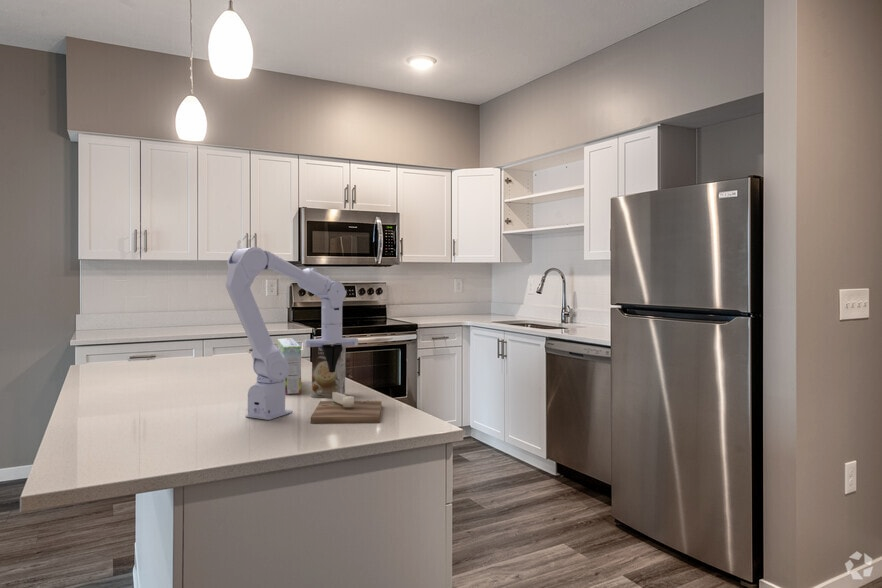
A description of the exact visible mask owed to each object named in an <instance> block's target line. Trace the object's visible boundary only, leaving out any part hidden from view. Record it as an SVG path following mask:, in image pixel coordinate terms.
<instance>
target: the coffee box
mask: <svg viewBox="0 0 882 588" xmlns="http://www.w3.org/2000/svg"><path fill="white" fill-rule="evenodd" d="M326 344H339V343H326ZM342 347H343V349H342V352H341V354H340V356H339V358H338V361H337V364H336V368H335V372H329V369H328V364H327V360H326V357H325V355H324V353H323V351H322V348H321V346H320V347H311V395H310V396H311V398H328V399H332V392H338V393H341V394H344V395H346V360H347V359H346V353H347V352H346V351H347V350H346V349H347V348H346V347H347V345H346V346H342Z"/></svg>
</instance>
